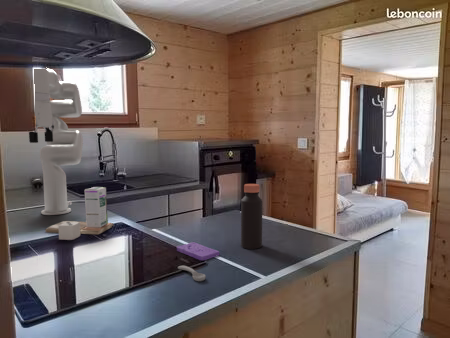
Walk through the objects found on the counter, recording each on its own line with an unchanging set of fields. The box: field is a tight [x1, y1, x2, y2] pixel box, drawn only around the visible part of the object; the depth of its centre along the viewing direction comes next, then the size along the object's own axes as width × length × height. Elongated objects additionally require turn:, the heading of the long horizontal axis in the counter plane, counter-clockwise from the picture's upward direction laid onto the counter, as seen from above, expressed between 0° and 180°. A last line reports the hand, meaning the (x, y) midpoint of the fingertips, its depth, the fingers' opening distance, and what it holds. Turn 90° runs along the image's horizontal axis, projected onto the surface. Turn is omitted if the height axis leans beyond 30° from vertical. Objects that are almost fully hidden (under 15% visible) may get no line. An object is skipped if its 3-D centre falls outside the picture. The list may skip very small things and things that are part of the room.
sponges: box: [176, 241, 220, 261], centre depth 108 cm, size 7×13×2 cm, turn 44°
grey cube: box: [58, 221, 81, 241], centre depth 124 cm, size 5×5×5 cm
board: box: [44, 220, 114, 235], centre depth 136 cm, size 12×21×2 cm, turn 82°
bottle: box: [240, 183, 263, 250], centre depth 113 cm, size 7×7×20 cm
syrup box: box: [84, 186, 109, 228], centre depth 134 cm, size 6×6×14 cm
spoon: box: [177, 265, 207, 282], centre depth 91 cm, size 3×12×2 cm, turn 35°
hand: (41, 142), depth 141 cm, fingers open, 9 cm apart
